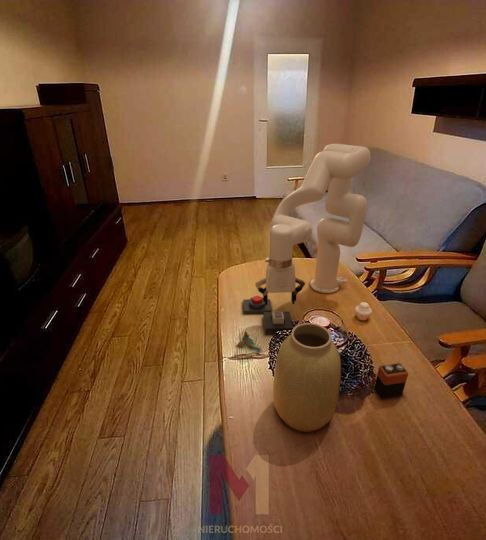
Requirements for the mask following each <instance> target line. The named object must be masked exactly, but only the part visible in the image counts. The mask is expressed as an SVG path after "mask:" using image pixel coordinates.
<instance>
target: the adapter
mask: <svg viewBox="0 0 486 540" xmlns="http://www.w3.org/2000/svg"><path fill="white" fill-rule="evenodd" d="M272 312H273V311H272ZM272 312H263V314H262V315H263V319H262V321H263V327H264V336H278V335H277V334H278V333H275V332H277V331H283V330H293V328H294V325H293V324H294V323H293V321H292V317H291V312H290V311H282V312H283V315H284V324H272Z"/></svg>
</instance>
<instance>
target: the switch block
mask: <svg viewBox="0 0 486 540" xmlns="http://www.w3.org/2000/svg"><path fill="white" fill-rule="evenodd" d="M253 297H254V296H252V297H250V298H249V299H248V298H247V299H243V300H242V302H243V303H242V306H243V307H242V308H243V315H263V312H273V310H272V303H271V299H270V298H268V305H265V302H263V296H260V297H261V298H262V302H261V303H260V304H255V303H253Z"/></svg>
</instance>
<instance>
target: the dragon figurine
mask: <svg viewBox="0 0 486 540" xmlns="http://www.w3.org/2000/svg"><path fill="white" fill-rule="evenodd" d="M245 344H246V346H248V347H250V348H251V349H253V350H257V351H256V353H257V354H258V355H259V351H260V348H259V347H256V346H255V345H256V343H255V342H254V340H253V339H252V338H251V337H250V334H248V332H247V331H246V330H245V331H244V333H243V336H242V337H241V340H239V341H238V343H237V344H236V346H237V347H243V346H245Z"/></svg>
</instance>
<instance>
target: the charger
mask: <svg viewBox="0 0 486 540" xmlns="http://www.w3.org/2000/svg"><path fill="white" fill-rule="evenodd" d="M283 312H284V311H281V310H274V311H272V324H284V315H283Z"/></svg>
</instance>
